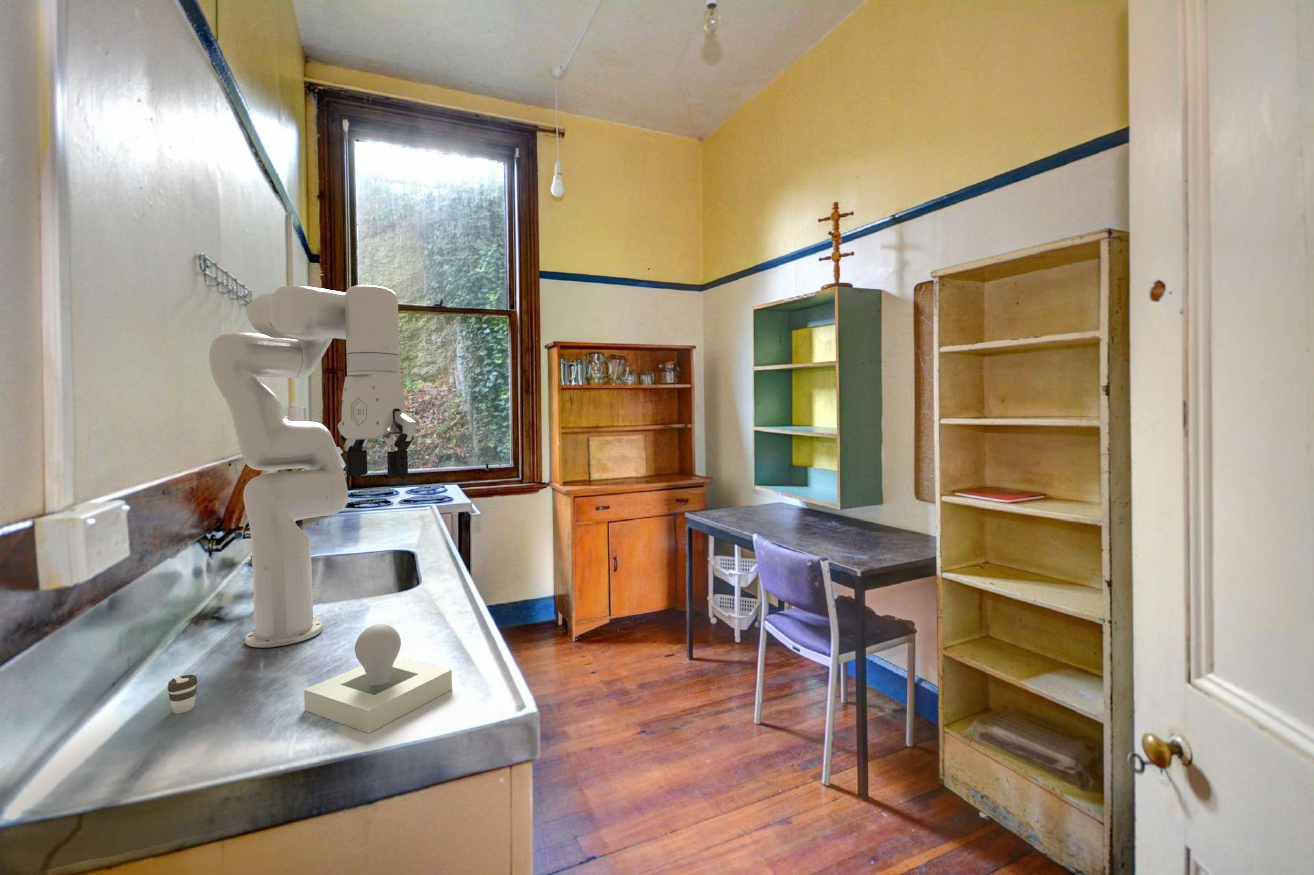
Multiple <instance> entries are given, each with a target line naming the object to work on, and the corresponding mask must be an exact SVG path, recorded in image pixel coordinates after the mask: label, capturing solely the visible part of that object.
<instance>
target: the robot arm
mask: <svg viewBox="0 0 1314 875" xmlns="http://www.w3.org/2000/svg"><path fill="white" fill-rule="evenodd" d="M246 317H247V320H248V321H249V323H250V325H251V326H252V327H253V328H254V330H256V331H257V333H255V332H229V333H227V332H226V333H224V334H221V335H217V337H215V338H214V339H213V340H212V342H211V344H210V347H209V352H208V354H209V355H208V356H209V359H208V360H209V367H210V371H211V372H210V373H211V376H212V378H213V381H214V383H215V384H216V387H217V388H218V391H219V392H220V394H221V395H222V398H223V399H224V401H225V402H226V403H227V406H228V408H229V409H230V413H231V417H232V422H233V425H234V430H235V434H236V438H237V441H238V446H239V449H240V452H241V456H242V458H243V460H244V462H245V464H246V465H247V466H248V468H251V469H252V470H256V471H276V472H267V473H263V474H260V475H257V476H255V477H253V478H251V479H250V480H249V481H248V482H247V483H246V485H245V486H244V490H243V494H242V497H243V498H242V499H243V506H244V508H245V511H246V512H245V513H246V516H247V520H248V521H247V522H248V526H249V532H250V541H251V542H250V543H251V559H252V560H251V561H252V564H251V566H252V587H253V614H251V616H250V621H252V622H254V629H253V630H252V631H250V632H248V633H247V634H246V636H244V637H245V638H244V640H245V641H244V642H245V644H246V645H247V646H248V647H252V648H260V649H261V648H262V649H263V648H274V647H281V646H282V647H285V646H288V645H293V644H296V643H302V642H304V641H307V640H309V639H312V638H314V637H316V636H318V635H319V634H320V633H322V631H323V629H324V628H323V627H324V625H323V624H324V623H323V622H322V621H320V620H317V619H314V603H313V602H314V600H313V577H312V576H313V574H312V572H313V570H312V569H313V568H312V549H311V548H312V547H311V546H312V545H311V541H310V539H309V537H308V535H307V533H305V532H304V531H303V529H301V527H299V526H298V525H297V523H296V522H297V521H301V520H306V519H312V518H320V517H325V516H326V517H328V516H331V515H336V514H339V513H340V512H342V511H343V510H344V509H345V508H346V506H347V503H348V499H349V491H348V490H349V489H348V484H347V481H346V478H345V474H344V469H343V467H342V462H341V459H340V457H339V453H338V450H337V447H336V443H335V442H336V441H335V439H334V437H333V434H331V431H330V430H329V429H328V428H327V427H326V426H325V425H324V424H321V423H320V422H315V421H291V420H289V419H287V418H286V416H285V415H286V414H285V413H284V409H283V405H282V402H281V400H280V399H279V397H278V396H277V395H276V394H275V393H274V392H273V390H271V389H270V388H269V387H268V386H266V385H265V384H264V383H262V382H261V381H260V380H258V379H257V377H260V378H261V377H263V378H264V377H265V378H282V379H283V378H285V379H304V378H306V377H309V376H311V374H312V373H313V372H314V371H315V370H316V368H317V367H318V365H319V364H320V362H321V360H322V359H323V357H324V354H325V353H326V351H327V349H328V348H329V346H330V345H331V343H332V341H333V339H339V340H345V349H346V352H345V353H346V376H345V377H344V383H343V389H342V398H341V421H340V422H339V423H337V428H338V432H339V434H340V440H341V441H342V443H343V450H344V451H346V453H345V454H346V475H347V476H349V477H354V476H365V475H367V474H368V452H367V450H366V449H364V448H365V446H366V444H367V443H368V441H369V440H380V439H383V440H384V441H385V443H386V445H387V447H388V448H389V450H390V451H387V453H386V455H387V456H386V458H387V459H386V460H387V463H386V464H387V477H388V478H389V479H392V478H393V479H394V478H403V477H407V476H408V475H409V461H408V459H409V458H408V457H409V456H408V454H409V453H408V451H410V449H411V444H412V442H413V441H414V435H415V432H416V430H417V426H418V425H417V424H418V423H417V422H416V421H415V420H414V419H413V418H411V417H409V416H408V415H407V406H406V405H407V404H406V397H405V391H404V386H403V381H402V380H403V379H402V377H401V363H400V362H401V360H400V359H401V358H400V337H399V336H400V332H399V330H400V328H399V327H400V326H399V325H400V324H399V301H398V297H397V294H396V293H395V292H394V291H393V290H392V289H389V288H388V287H384V286H378V285H371V284H369V285H368V284H366V285H365V284H364V285H363V284H361V285H359V284H358V285H354V286H353V285H352V286H351V287H349V288H347V289H346V291H345V292H344V291H343V292H342V291H337V290H330V289H326V288H319V287H314V286H313V287H312V286H302V285H289V286H286V285H285V286H280V287H278V288H276V290H275V291H274V292H267V293H266V292H265V293H262V294H259V295H257V296H256V297H254V298H253V299H252V300H251V301H250V302H249V304H248V307H247V308H246ZM258 332H259V333H258ZM292 469H293V470H292ZM294 469H305V470H294ZM277 470H287V471H277ZM288 470H289V471H288Z"/></svg>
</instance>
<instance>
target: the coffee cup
mask: <svg viewBox="0 0 1314 875" xmlns="http://www.w3.org/2000/svg"><path fill="white" fill-rule="evenodd" d="M198 683H199V682H198V679H197V675H195V674H185V675H179V676H178V677H177V678H171V679H170V680H169V681H168V685H167V692H168V697H169V700H170V705H171V706H170V707H171V709H172V713H173V714H181V713H182V714H183V713H187V712H188V711H191V710H193V709H194V708H195V706H196V705H195V703H196V695H197V690H198V689H197V688H198V687H197V685H198Z"/></svg>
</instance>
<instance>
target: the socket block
mask: <svg viewBox="0 0 1314 875" xmlns="http://www.w3.org/2000/svg"><path fill="white" fill-rule="evenodd" d="M452 672H453V671H452V669H450V668H447V667H441V666H438V665H434V664H430V663H426V662H422V661H418V660H415V659H411V658H406V657H404V656H399V655H397V657H396V659H395V661H394V663H393V666H392V671H391V679H390V680H389V684H390V685H389V686H391V687H389V689H386V690H384V691H382V692H380V693H378V694H376V695H372V694H370V687H369V684H368V681H367V675H366V672H365V670H364V668H363V666H362V665H360V666H358V667H357V666H356V667H355V668H353V669H350V670H348V671H346V672H343V673H341V674H338V675H335V676H333V677H331V678H329V679H325V680H324V681H321V682H318V683H316V684H313V685H311V686H309V687H306V688H304V689H303V696H304V697H303V699H304V700H303V701H304V711H306V712H309V713H311V714H314V715H317V716H319V717H322V718H325V719H328V720H330V721H334V722H336V723H339V724H342V725H345V726H348V727H349V728H350V727H351V728H353V729H355V730H359V731H361V732H364V733H367V734H371V733H372V732H374V731H376V730H378V729H380V728H382V727H384V726H385V725H388V724H389V723H391V722H393V721H395V720H397V719H399V718H401V717H402V716H403V717H404V715H406V714H408V713H410V712H412V711H414V710H416V709H417V708H420V707H421V706H423V705H425V704H427V703H429V702H431V701H433V700H435V699H437V698H438V697H441V696H443V695H445V694H446V693H448V692H450V691H452V690H453V675H452V674H453V673H452Z"/></svg>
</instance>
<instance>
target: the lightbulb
mask: <svg viewBox="0 0 1314 875" xmlns="http://www.w3.org/2000/svg"><path fill="white" fill-rule="evenodd" d="M401 646H402V639H401V636H400V634H399V632H398V631H397V630H396V629H395V628H394V627H392V626H391V625H388V624H386V623H385V624H384V623H378V624H373V625H371V626H369V627H366V629H364V630H363V631H362V632H361V633H360V634H359V635H358V637H357V638H356V641H355V645H354V654H355V658H356V659H357V660H358V662H359V663H360V666H363V668H364V670H365V672H366V675H367V681H368V684H369V687H370V692H369V694H372V695H376V694H378V693H380V692H382V691H384V690H386V689H389V688H390V686H391V685H390V684H389V680H390V679H391V671H392V666H393V663H394V661H395V659H396V657H397V656H399V652H400V649H401Z"/></svg>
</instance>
